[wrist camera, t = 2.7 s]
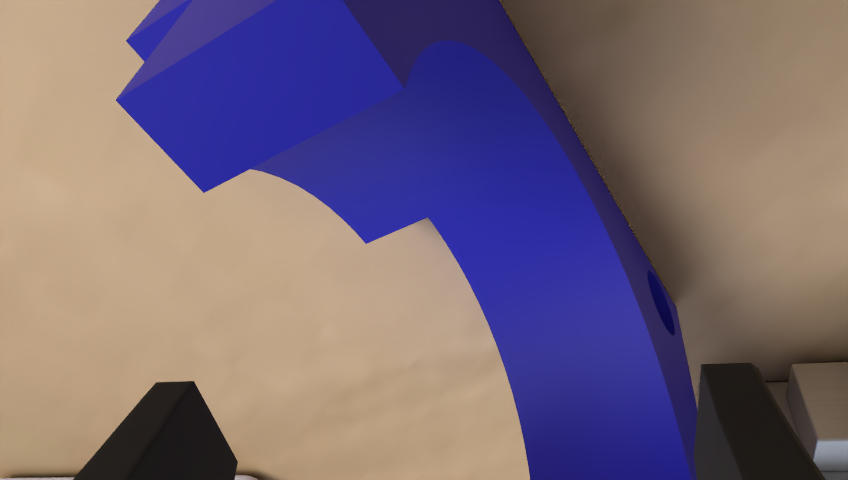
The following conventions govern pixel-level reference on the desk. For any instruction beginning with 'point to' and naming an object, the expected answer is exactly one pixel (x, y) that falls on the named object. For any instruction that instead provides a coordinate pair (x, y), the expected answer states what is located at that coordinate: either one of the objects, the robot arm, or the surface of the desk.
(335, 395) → the desk surface
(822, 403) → the brown slab with knob
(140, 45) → the cable clip
